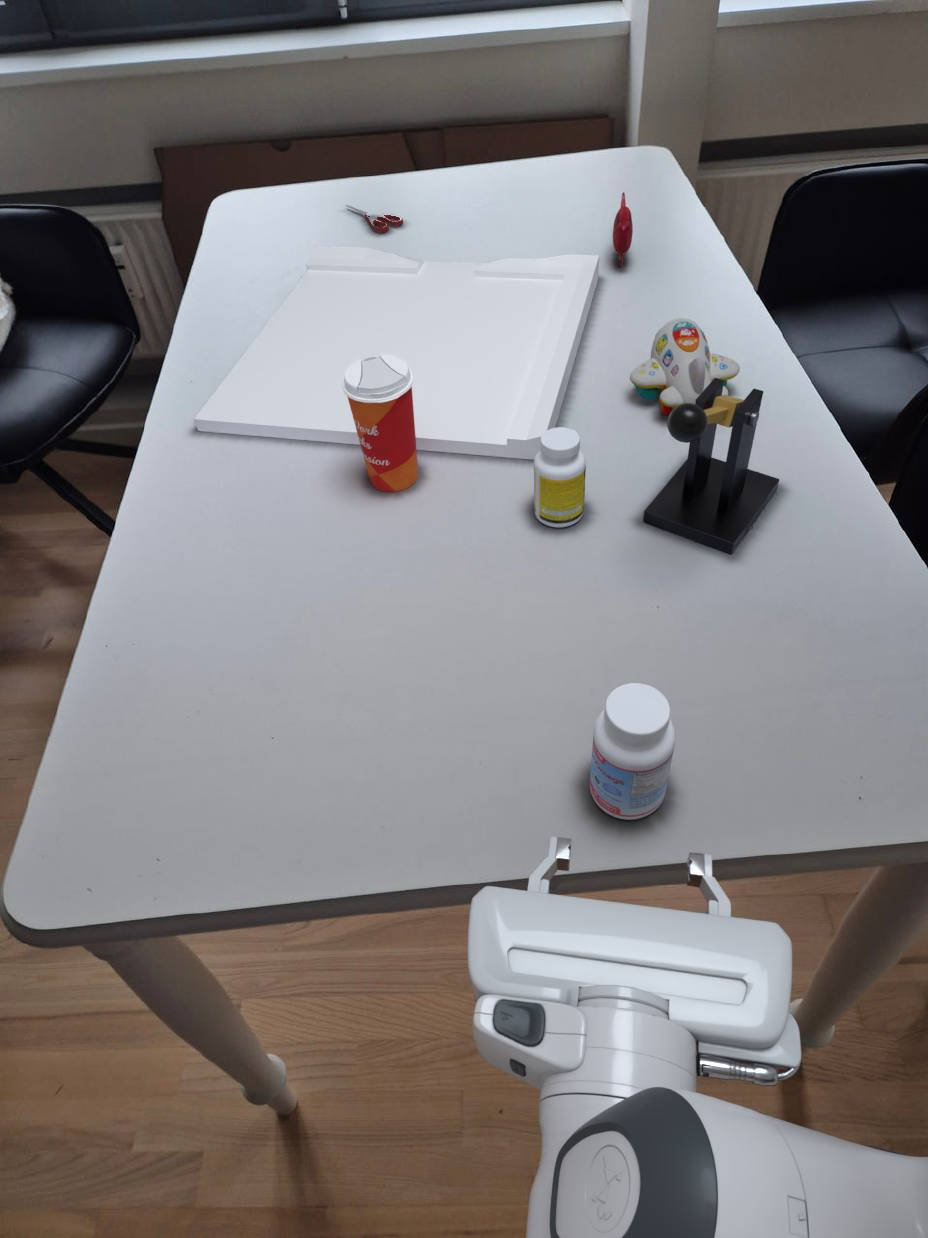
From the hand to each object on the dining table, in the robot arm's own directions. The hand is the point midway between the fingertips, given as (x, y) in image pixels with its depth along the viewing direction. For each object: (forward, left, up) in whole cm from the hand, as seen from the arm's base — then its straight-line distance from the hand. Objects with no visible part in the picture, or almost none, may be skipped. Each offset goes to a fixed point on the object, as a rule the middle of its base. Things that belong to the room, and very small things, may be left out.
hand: (629, 848), depth 60 cm
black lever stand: (-22, -40, -7) cm, 46 cm away
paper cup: (+11, -54, -7) cm, 56 cm away
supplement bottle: (-6, -43, -7) cm, 44 cm away
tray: (+5, -82, -7) cm, 83 cm away
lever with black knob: (-18, -36, +6) cm, 41 cm away
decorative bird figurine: (-30, -100, -7) cm, 105 cm away
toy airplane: (-26, -61, -7) cm, 67 cm away
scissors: (+7, -128, -7) cm, 129 cm away
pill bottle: (-3, -8, -7) cm, 11 cm away
